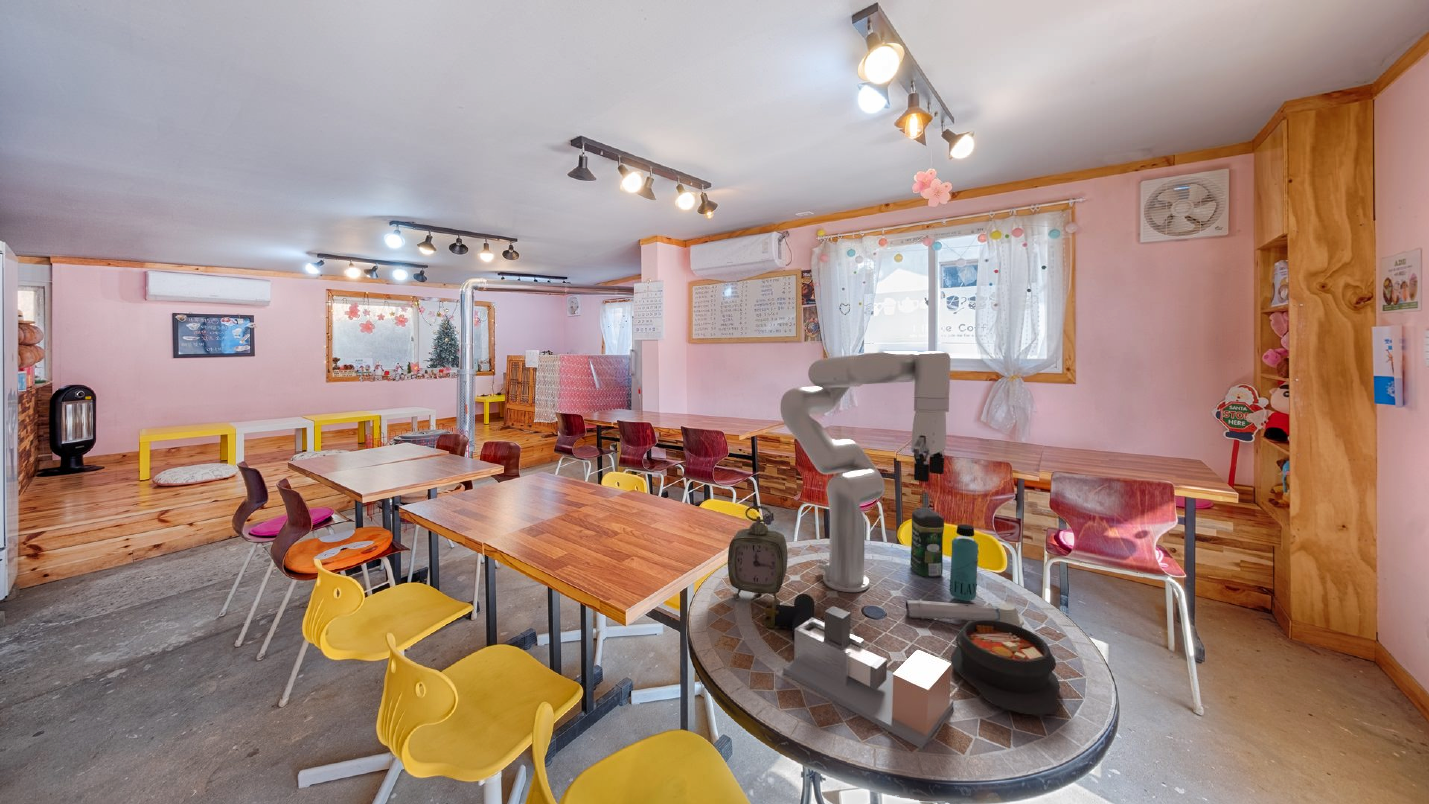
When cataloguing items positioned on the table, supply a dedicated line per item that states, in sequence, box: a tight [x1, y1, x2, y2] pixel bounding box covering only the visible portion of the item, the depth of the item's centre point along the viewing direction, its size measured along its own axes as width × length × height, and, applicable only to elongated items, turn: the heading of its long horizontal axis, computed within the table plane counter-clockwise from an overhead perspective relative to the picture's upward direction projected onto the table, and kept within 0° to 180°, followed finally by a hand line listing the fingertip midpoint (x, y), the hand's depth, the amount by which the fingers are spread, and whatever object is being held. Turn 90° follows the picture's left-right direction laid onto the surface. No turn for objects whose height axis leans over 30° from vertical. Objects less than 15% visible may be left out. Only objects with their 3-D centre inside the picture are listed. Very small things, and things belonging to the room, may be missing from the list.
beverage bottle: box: [948, 523, 979, 602], centre depth 130 cm, size 6×7×20 cm
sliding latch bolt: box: [809, 605, 888, 690], centre depth 99 cm, size 16×4×11 cm, turn 45°
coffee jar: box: [909, 507, 945, 578], centre depth 148 cm, size 10×8×19 cm
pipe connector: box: [763, 593, 816, 643], centre depth 119 cm, size 12×5×15 cm
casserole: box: [950, 620, 1061, 716], centre depth 99 cm, size 25×19×8 cm
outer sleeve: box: [793, 618, 864, 686], centre depth 102 cm, size 12×6×7 cm, turn 45°
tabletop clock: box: [727, 505, 789, 605], centre depth 132 cm, size 14×9×25 cm, turn 73°
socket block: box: [892, 649, 952, 736], centre depth 88 cm, size 6×10×8 cm, turn 135°
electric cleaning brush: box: [904, 598, 1025, 628], centre depth 120 cm, size 5×7×25 cm
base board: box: [782, 659, 954, 750], centre depth 97 cm, size 28×14×1 cm, turn 45°
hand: (929, 477), depth 119 cm, fingers open, 9 cm apart
